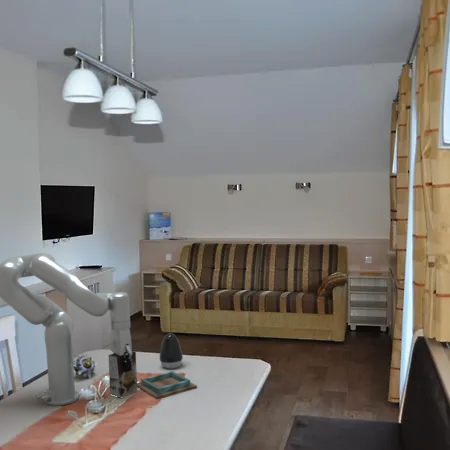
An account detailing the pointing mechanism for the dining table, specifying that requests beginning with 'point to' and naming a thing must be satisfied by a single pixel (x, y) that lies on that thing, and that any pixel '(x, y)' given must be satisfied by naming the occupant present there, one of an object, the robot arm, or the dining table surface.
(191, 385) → the board
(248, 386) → the dining table surface
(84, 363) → the passion flower
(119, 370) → the coffee box
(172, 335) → the dark grey speaker
